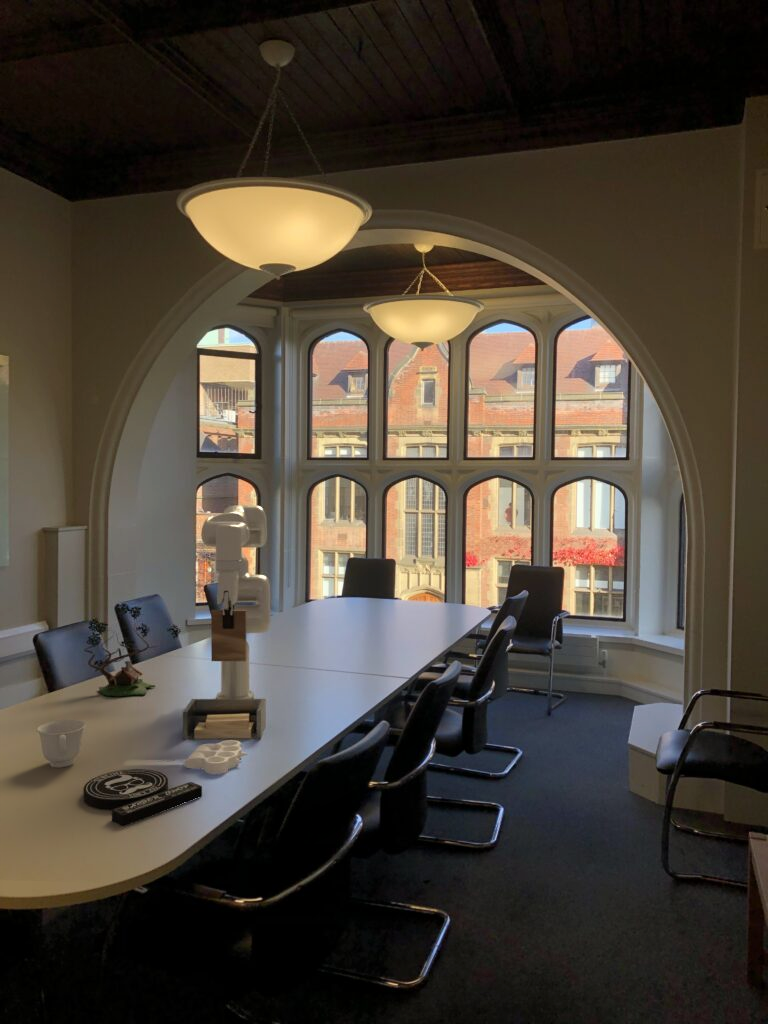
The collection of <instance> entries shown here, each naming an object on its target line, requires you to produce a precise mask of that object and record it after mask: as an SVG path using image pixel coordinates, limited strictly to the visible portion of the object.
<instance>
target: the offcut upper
mask: <svg viewBox="0 0 768 1024" xmlns="http://www.w3.org/2000/svg"><path fill="white" fill-rule="evenodd" d="M229 729H249V714H222V715H207V719H206V730H229Z"/></svg>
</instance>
